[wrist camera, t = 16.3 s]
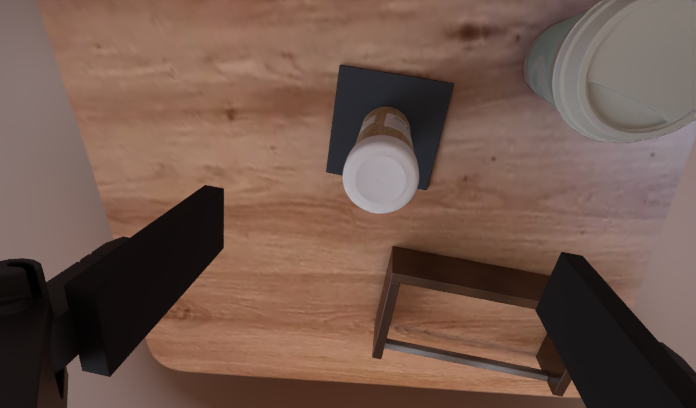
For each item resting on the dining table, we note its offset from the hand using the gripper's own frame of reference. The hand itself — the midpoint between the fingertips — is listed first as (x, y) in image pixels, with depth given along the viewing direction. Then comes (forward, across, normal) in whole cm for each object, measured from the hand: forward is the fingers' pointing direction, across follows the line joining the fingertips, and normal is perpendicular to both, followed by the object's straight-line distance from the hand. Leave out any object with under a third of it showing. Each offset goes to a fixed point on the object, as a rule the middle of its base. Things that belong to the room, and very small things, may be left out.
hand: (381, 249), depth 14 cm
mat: (+21, -1, 0) cm, 21 cm away
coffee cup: (+22, +12, +8) cm, 26 cm away
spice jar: (+21, -1, 0) cm, 21 cm away
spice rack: (+22, +12, -18) cm, 31 cm away
